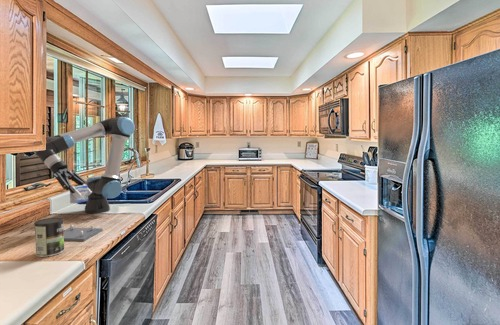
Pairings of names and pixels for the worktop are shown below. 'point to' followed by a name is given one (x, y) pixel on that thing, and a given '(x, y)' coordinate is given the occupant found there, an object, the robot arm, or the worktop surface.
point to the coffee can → (49, 237)
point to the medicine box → (82, 190)
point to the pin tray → (80, 233)
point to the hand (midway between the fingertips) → (85, 195)
